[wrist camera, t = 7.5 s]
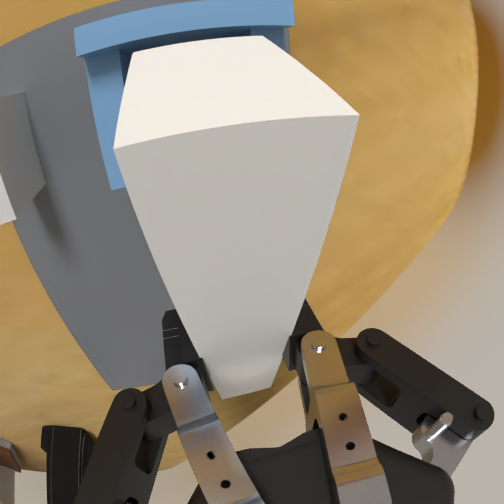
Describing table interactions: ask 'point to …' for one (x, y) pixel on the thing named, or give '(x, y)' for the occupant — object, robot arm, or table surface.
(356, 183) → the table surface
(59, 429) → the portable radio
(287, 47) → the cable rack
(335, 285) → the table surface
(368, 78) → the table surface
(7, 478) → the white shelf unit
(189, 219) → the block
